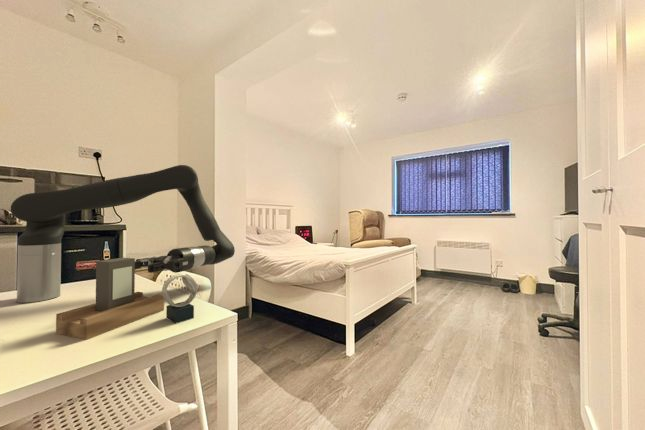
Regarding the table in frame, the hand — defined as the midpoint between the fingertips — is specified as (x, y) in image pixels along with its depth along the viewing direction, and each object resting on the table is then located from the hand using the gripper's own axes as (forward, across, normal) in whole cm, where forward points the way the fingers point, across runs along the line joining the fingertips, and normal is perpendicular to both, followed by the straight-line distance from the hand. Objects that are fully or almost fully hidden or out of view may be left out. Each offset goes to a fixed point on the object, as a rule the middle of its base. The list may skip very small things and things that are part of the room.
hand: (137, 267), depth 68 cm
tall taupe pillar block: (+5, 0, +9) cm, 10 cm away
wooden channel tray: (+5, 0, +12) cm, 13 cm away
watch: (-1, +14, +12) cm, 19 cm away
